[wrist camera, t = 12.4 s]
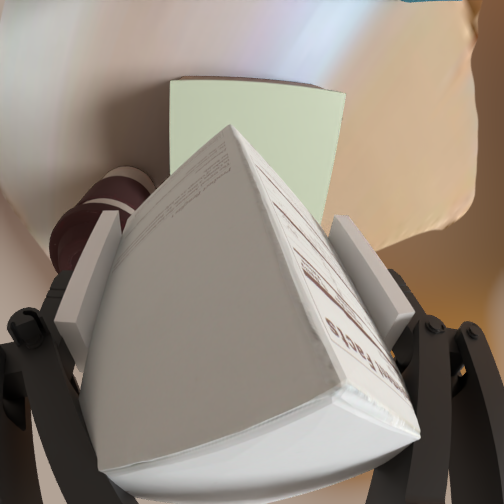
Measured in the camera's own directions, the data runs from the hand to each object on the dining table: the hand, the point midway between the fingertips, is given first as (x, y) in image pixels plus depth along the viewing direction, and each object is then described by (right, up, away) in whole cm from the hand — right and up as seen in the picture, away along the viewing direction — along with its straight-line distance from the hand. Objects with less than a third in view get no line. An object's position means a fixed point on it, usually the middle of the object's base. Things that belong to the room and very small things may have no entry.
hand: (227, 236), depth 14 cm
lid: (+1, +7, +12) cm, 14 cm away
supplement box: (0, +1, +2) cm, 2 cm away
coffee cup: (-14, +7, +21) cm, 26 cm away
